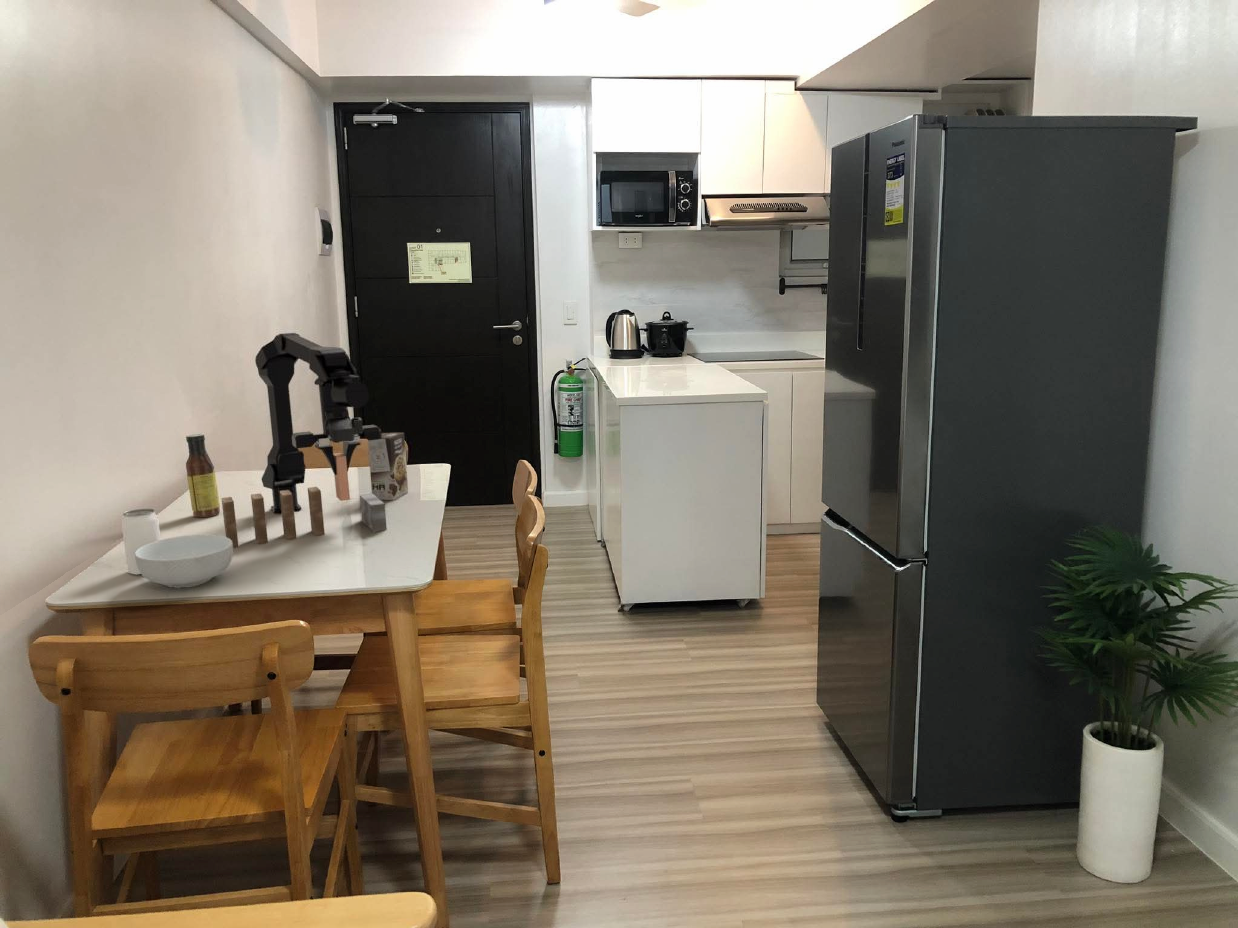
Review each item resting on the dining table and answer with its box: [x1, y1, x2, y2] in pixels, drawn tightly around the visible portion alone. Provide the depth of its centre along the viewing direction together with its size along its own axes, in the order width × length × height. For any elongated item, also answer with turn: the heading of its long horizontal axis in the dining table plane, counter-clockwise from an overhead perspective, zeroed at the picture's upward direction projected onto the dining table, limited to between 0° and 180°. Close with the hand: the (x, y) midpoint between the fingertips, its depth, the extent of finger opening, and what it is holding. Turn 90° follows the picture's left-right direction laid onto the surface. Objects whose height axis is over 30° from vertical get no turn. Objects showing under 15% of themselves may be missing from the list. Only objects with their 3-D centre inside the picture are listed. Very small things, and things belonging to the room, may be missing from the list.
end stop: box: [359, 493, 388, 533], centre depth 220 cm, size 12×3×6 cm, turn 27°
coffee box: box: [367, 432, 409, 501], centre depth 248 cm, size 9×6×16 cm
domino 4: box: [307, 486, 326, 537], centre depth 215 cm, size 2×5×10 cm, turn 27°
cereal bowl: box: [135, 534, 234, 589], centre depth 182 cm, size 17×17×7 cm
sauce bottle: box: [185, 433, 221, 518], centre depth 232 cm, size 7×6×20 cm
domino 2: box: [250, 493, 269, 545], centre depth 209 cm, size 2×5×10 cm, turn 27°
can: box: [121, 508, 162, 575], centre depth 189 cm, size 6×6×12 cm
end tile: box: [333, 452, 351, 502], centre depth 217 cm, size 2×5×10 cm, turn 27°
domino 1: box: [220, 496, 239, 549], centre depth 207 cm, size 2×5×10 cm, turn 27°
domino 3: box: [280, 490, 298, 541], centre depth 212 cm, size 2×5×10 cm, turn 27°
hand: (340, 474), depth 217 cm, fingers closed on end tile, 2 cm apart
